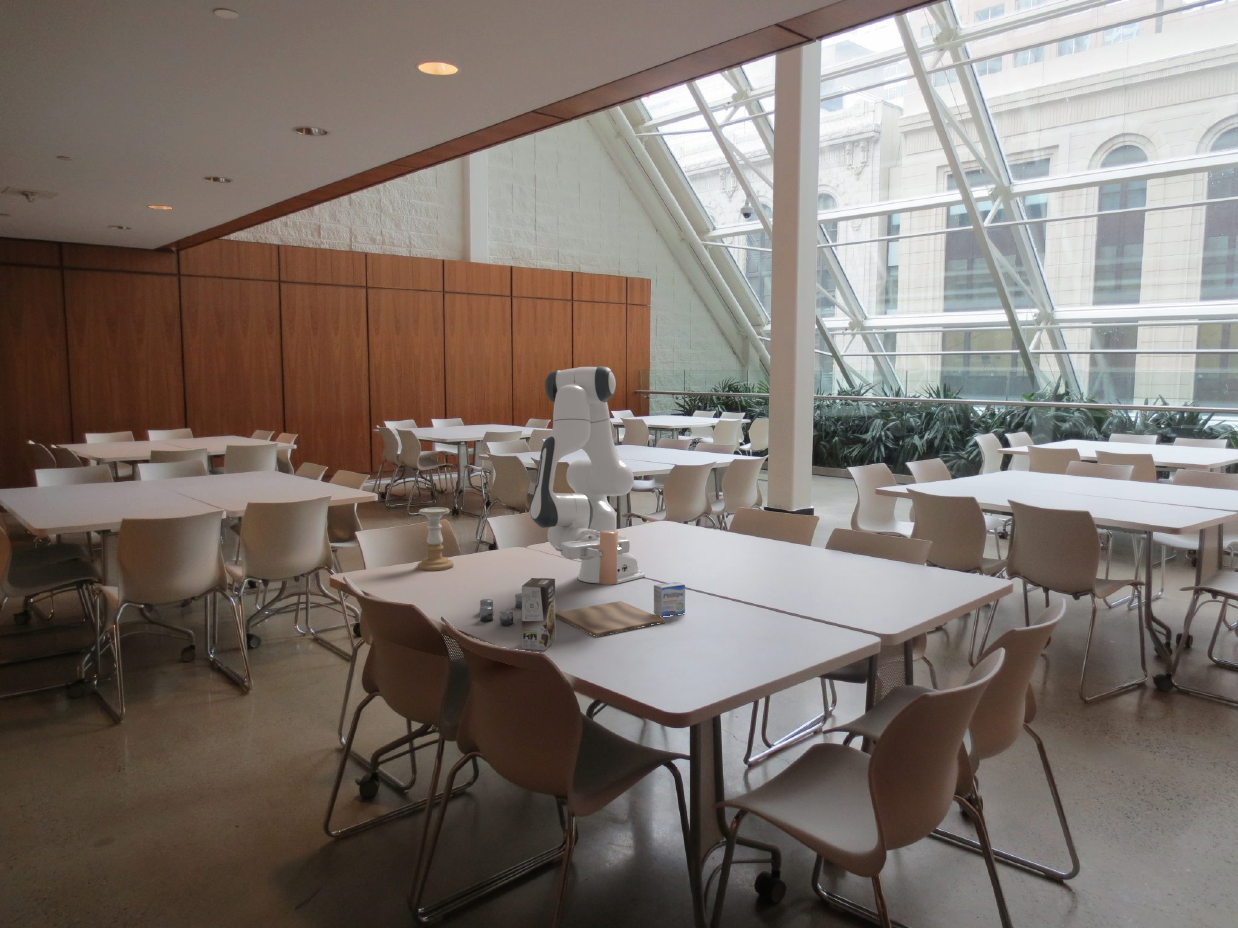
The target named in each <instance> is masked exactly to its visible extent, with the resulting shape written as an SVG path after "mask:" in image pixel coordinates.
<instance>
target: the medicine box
mask: <svg viewBox="0 0 1238 928" xmlns="http://www.w3.org/2000/svg"><path fill="white" fill-rule="evenodd" d="M654 613H655V614H656V615H655V614H654ZM683 613H686V585H685V584H684V583H681V582H679V581H675V582H668V583H661V584H654V585H653V614H654V615H655V616H657V615H658V617H659V616H661V617H663V616H670V615H677V616H679V615H678V614H683ZM683 615H684V614H683ZM661 617H660V618H661Z"/></svg>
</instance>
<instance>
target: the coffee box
mask: <svg viewBox="0 0 1238 928" xmlns="http://www.w3.org/2000/svg"><path fill="white" fill-rule="evenodd" d="M521 593H522V608H521V649H522V650H534V651H544V650H545V651H547V649H548V648H549V647H550V646H551V645H552V644H553V643H554V642H555V641H556V617H555V613H556V578H552V577H551V578H549V577H548V578H547V577H542V578H541V577H540V578H538V577H531V578H530V579H529V580H528V581H526V582H525V583H524V584H523V585H522V586H521Z"/></svg>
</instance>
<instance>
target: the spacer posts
mask: <svg viewBox="0 0 1238 928" xmlns="http://www.w3.org/2000/svg"><path fill="white" fill-rule="evenodd" d="M514 597H515V598H514V601H515V602H514V603H515V604H514V605H515V606H514V607H515V608H516V609H522V592H521V593H516V594H515V595H514ZM514 619H515V618H514V610H511V609H504V610H500V611H499V625H500V626H502V627H511V626H514V623H515V622H514ZM479 621H480V622H482V623H489V622H493V621H494V600H493V599H491V598H483V599H480V601H479Z"/></svg>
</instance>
